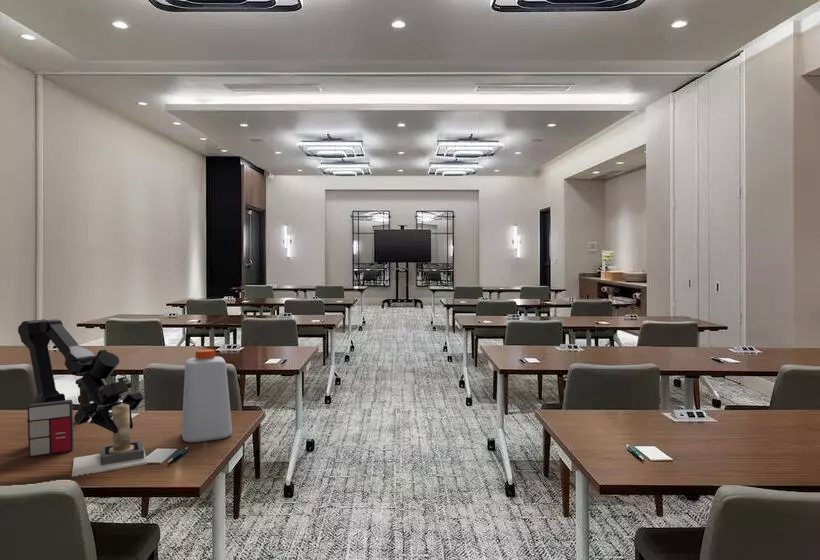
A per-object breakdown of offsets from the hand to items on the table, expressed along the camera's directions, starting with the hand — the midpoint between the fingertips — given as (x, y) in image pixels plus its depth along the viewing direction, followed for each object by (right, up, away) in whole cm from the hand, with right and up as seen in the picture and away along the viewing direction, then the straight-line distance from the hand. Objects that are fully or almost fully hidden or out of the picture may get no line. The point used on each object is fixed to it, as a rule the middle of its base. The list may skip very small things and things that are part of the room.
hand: (124, 430), depth 155 cm
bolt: (-37, -8, +42) cm, 57 cm away
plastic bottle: (+16, -8, +22) cm, 28 cm away
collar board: (-3, -8, -2) cm, 9 cm away
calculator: (-25, -9, +6) cm, 27 cm away
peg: (-1, -7, +1) cm, 7 cm away
